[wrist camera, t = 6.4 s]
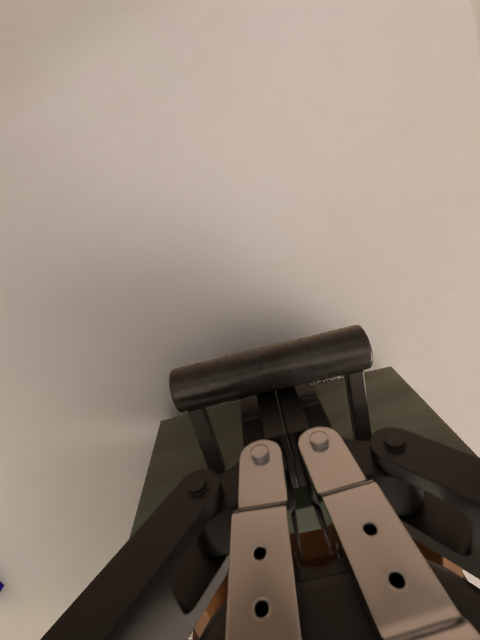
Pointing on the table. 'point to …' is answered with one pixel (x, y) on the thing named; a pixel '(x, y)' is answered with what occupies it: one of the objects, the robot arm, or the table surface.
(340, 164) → the table surface
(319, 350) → the drawer
